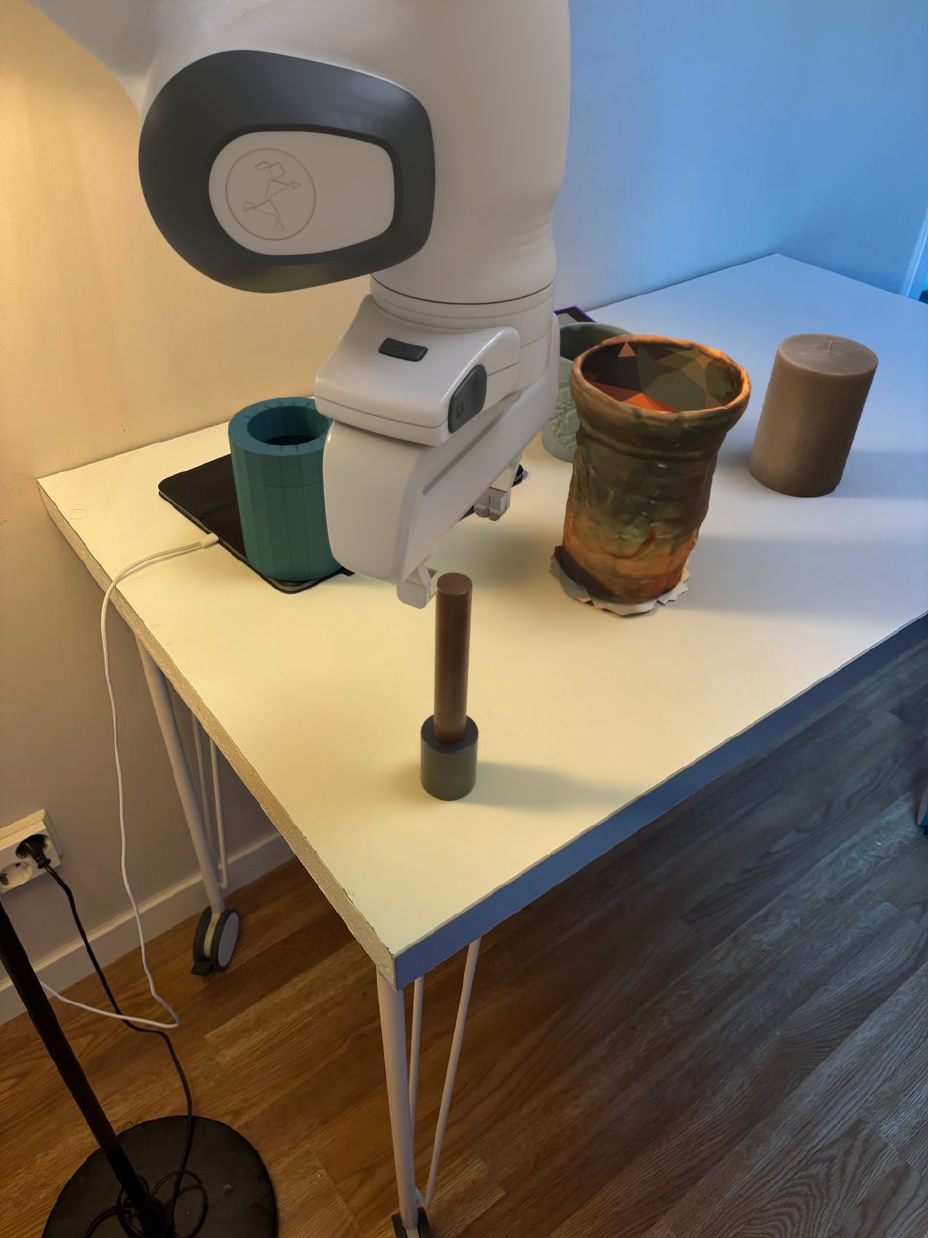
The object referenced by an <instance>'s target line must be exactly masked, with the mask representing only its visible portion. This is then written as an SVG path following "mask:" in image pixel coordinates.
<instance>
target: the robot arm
mask: <svg viewBox="0 0 928 1238" xmlns="http://www.w3.org/2000/svg"><path fill="white" fill-rule="evenodd" d="M25 1H26V2H27V3H28V4H30V5H31V6H32V7H33V8H35V9H36V10H37V11H38V12H39V13H41V14H42V15H43V16H44V17H45V18H47V19H48V20H49V21H51V22H52V24H54V25H55V26H56V27H57V28H59V29H60V30H61V31H63V32H64V33H65V34H66V35H67V36H68V37H70V38H71V39H72V40H73V41H75V42H76V43H77V44H78V45H79V46H81V47H82V48H83V49H84V50H85V51H86V52H88V53H89V54H90V55H92V56H93V57H94V58H95V59H97V61H98V62H100V63H101V64H102V65H103V66H104V67H105V68H106V69H107V70H108V71H109V72H110V73H111V74H112V76H113V77H114V78H115V79H116V81H117V82H118V83H119V84H120V86H121V87H122V89H123V90H124V92H125V93H126V95H127V96H128V98H129V99H130V101H131V103H132V104H133V106H134V108H135V110H136V112H137V114H138V116H139V131H138V156H137V158H138V159H137V161H138V162H137V163H138V175H139V181H140V187H141V191H142V195H143V198H144V202H145V204H146V206H147V210H148V211H149V214H150V216H151V218H152V220H153V222H154V224H155V226H156V227H157V229H158V230H159V232H160V234H161V235H162V237H163V238H164V240H165V241H166V242H167V243H168V245H169V246H170V247H171V248H172V249H173V251H174V252H176V254H177V255H178V256H179V257H180V258H182V259H183V260H184V261H185V263H187V264H188V265H189V266H191V267H192V268H193V269H195V270H196V271H197V272H199V273H201V274H202V275H204V276H205V277H207V278H208V279H210V280H213V281H215V282H217V283H219V284H221V285H224V286H225V287H229V288H231V289H235V290H239V291H242V292H246V293H247V292H248V293H254V294H280V293H281V294H282V293H288V292H294V291H300V290H306V289H310V288H316V287H321V286H325V285H331V284H334V283H335V284H336V283H339V282H344V281H348V280H352V279H356V278H360V277H363V276H367V275H369V293H368V294H366V295H365V296H364V297H363V298H362V300H361V302H360V303H359V307H358V308H357V310H356V312H355V315H354V317H353V319H352V321H351V322H350V325H349V326H348V328H347V329H346V330H347V331H346V330H345V331H346V333H345V335H344V336H343V337H342V339H341V340H340V342H339V341H338V343H337V344H336V346H335V347H334V349H333V350H332V351H331V353H330V354H329V355H328V357H327V358H326V359H325V361H324V362H323V363H322V365H321V366H320V367H319V369H318V371H317V373H316V375H315V378H314V383H313V395H314V396H313V397H314V399H315V404H316V408H317V410H318V412H319V413H320V414H322V415H325V416H327V417H330V418H333V419H335V420H334V421H333V423H332V425H331V427H330V429H329V431H328V434H327V437H326V441H325V446H324V454H323V482H324V497H325V510H326V519H327V528H328V536H329V543H330V547H331V551H332V554H333V556H334V558H335V559H336V560H337V561H338V562H339V563H340V564H341V565H342V566H343V567H342V568H345V569H346V570H348V571H350V572H353V573H355V574H358V575H361V576H363V577H366V578H368V579H371V580H374V581H378V582H381V583H384V584H388V585H392V586H396V597H397V598H398V601H400V602H401V603H403V604H404V605H407V606H410V607H413V608H415V609H419V610H422V609H425V608H426V606H427V605H428V604H429V603H430V602H431V600H432V599H433V598H434V597H435V596H436V593H437V591H438V587H437V582H438V578H439V571H438V570H436V569H433V568H430V567H427V566H426V563H427V562H428V561H429V559H430V558H431V552H433V550H434V549H435V548H436V547H437V546H438V544H440V542H442V540H443V539H444V538H445V537H446V536H447V535H448V534H449V533H450V531H452V529H453V528H454V527H455V526H456V525H457V524H458V523H459V521H460V520H461V519H462V518H463V517H464V516H465V515H466V514H467V513H468V512H469V510H470V509H471V508H472V507H473V511H474V514H475V515H476V516H477V517H479V518H480V519H488V520H489V521H492V522H498V521H499V520H500V519H501V518H502V517H503V516H504V514H506V512H507V511H508V510H509V509H510V507H511V495H512V487H513V485H514V482H515V478H516V476H517V473H518V470H519V468H520V464H521V461H522V458H523V454H524V450H525V448H527V447H528V446H529V445H530V443H531V442H532V441H533V440H534V439H535V438H536V437H537V435H539V434H540V432H542V429H543V428H544V426H545V425H546V424H547V423H548V422H549V421H550V419H551V417H552V415H553V412H554V409H555V406H556V402H557V398H558V386H559V365H560V328H559V321H558V317H557V315H556V314H555V313H554V312H553V311H555V300H556V299H555V298H556V288H557V277H558V256H557V249H556V246H555V240H554V227H553V226H554V224H553V222H554V213H555V209H556V205H557V200H558V198H559V195H560V192H561V190H562V187H563V184H564V182H565V177H566V173H567V172H566V171H567V161H568V149H569V148H568V147H569V137H570V136H569V134H570V118H571V117H570V116H571V93H572V92H571V89H572V33H571V17H570V8H569V7H570V6H569V5H570V4H569V0H25Z"/></svg>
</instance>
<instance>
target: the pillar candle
mask: <svg viewBox="0 0 928 1238" xmlns="http://www.w3.org/2000/svg"><path fill="white" fill-rule="evenodd" d="M878 366H879V357H878V356H877V354H876V353H875V352H874V351H873V350H872V349H871V348H869V347H868V346H867V345H865V344H864V343H863V344H862V343H860V342H859V341H856V340H854V339H851V338H849V337H843V336H838V335H835V334H831V333H830V334H829V333H828V334H827V333H822V332H816V333H815V332H812V333H799V334H793V335H791V336H788V337H787V338H786V337H785V338H783V339H782V340H780V342H779V343H778V345H776V353H775V356H774V360H773V364H772V369H771V373H770V376H769V381H768V383H767V388H766V391H765V396H764V401H763V403H762V408H761V412H760V415H759V420H758V423H757V426H756V431H755V435H754V439H753V444H752V446H751V450H750V453H749V454H750V455H749V459H748V463H747V466H748V470H749V472H750V474H751V475H752V477H753V478H754V479H756V480H757V481H758V482H759V483H761V485H764V486H766V487H768V488H770V489H773V490H775V491H778V492H781V493H783V494H786V495H791V496H796V497H805V498H807V497H809V498H810V497H817V496H818V497H819V496H822V495H825V494H829V493H831V492H834V491H836V488H837V487H838V486H839V485H840V483H841V481H842V478H843V475H844V471H845V468H846V464H847V460H848V458H849V455H850V452H851V449H852V446H853V444H854V441H855V436H856V433H857V430H858V427H859V423H860V421H861V419H862V415H863V412H864V408H865V405H866V403H867V400H868V395H869V394H870V390H871V388H872V384H873V381H874V378H875V375H876V371H877V368H878Z"/></svg>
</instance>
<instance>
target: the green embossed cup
mask: <svg viewBox="0 0 928 1238" xmlns="http://www.w3.org/2000/svg"><path fill="white" fill-rule="evenodd" d="M596 322H597V321H596ZM596 322H577V323H569V324H565V325H561V326H559V328H560V365H559V386H558V398H557V402H556V406H555V409H554V412H553V415H552V417H551V419H550V421H549V422H548V423H547V424H546V425H545V426H544V428H543V429H542V430H541V443H542V446H543V448H544V449H545V451H546V452H547V453H548V454H550V455H551V456H553V457H555V458H557V459H559V460H560V461H561V460H562V461H565V462H568V463H572V464H573V457H574V454H575V452H576V450H577V441H576V432H577V431H578V430H579V426H580V420H579V418H578V416H577V412H576V408H577V406H576V404H575V401H574V399H573V397H572V395H571V391H570V384H569V376H570V372H571V369H572V365H573V363H574V359H575V358H576V357H578V356H579V355H580V354H581V353H583V352H585V351H586V350H588V349H590V348H592V347H594V346H596V345H598V344H600V343H601V342H603V341H604V340H606V339H610V338H613V337H616V336H620V335H633V334H634V333H632V332H631V331H629V330H626V329H624V328H622V327H619V326H615V325H612V324H608V323H604V322H597V323H596Z"/></svg>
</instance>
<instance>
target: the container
mask: <svg viewBox="0 0 928 1238" xmlns="http://www.w3.org/2000/svg"><path fill="white" fill-rule="evenodd" d="M334 420H335V419H333V418H330V417H327V416H325V415H322V414H320V413H319V412H318V410H317V408H316V404H315V398H311V397H304V396H303V397H302V396H285V397H284V396H281V397H275V398H274V397H273V398H270V399H265V400H261V401H258V402H254V403H253V404H250V405H247V406H245V407H243V408H242V409H241V410H239V411H237V412H235V414H233V416H232V418H231V419H230V421H229V422H228V425H227V436H228V437H227V438H228V444H229V450H230V456H231V457H230V459H231V462H232V471H233V477H234V485H235V490H236V498H237V506H238V511H239V516H240V517H239V518H240V525H241V532H242V539H243V545H244V552H245V554H246V558H247V561H248V563H249V564H250V566H251V567H252V568H253V569H254V570H255V571H257V572H258V573H260V574H261V575H263V576H265V577H268V578H271V579H275V580H279V581H284V582H285V581H286V582H305V581H306V582H307V581H313V580H318V579H321V578H324V577H326V576H330V575H332V574H334V573H336V572H337V571H339V570H340V569H342V568H344V567H343V566H342V565H341V564H340V563H339V562H338V561H337V560H336V559H335V558H334V556H333V554H332V551H331V547H330V543H329V536H328V528H327V519H326V510H325V497H324V482H323V454H324V446H325V441H326V437H327V434H328V431H329V429H330V427H331V425H332V423H333V421H334Z"/></svg>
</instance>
